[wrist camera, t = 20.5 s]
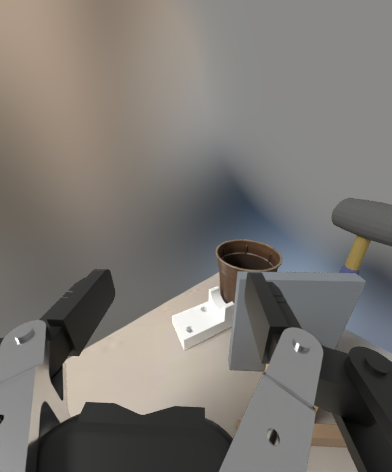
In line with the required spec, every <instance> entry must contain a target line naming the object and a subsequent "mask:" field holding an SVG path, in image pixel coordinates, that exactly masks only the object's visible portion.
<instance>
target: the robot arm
mask: <svg viewBox="0 0 392 472" xmlns="http://www.w3.org/2000/svg"><path fill="white" fill-rule="evenodd" d="M114 297H115V288H114V284H113V280H112V276H111V272H110V270H108V269H106V270H105V269H95V270H93V271H92V272H91V273H90V274H89V275H88V276H87V277H86V278H84V279H82V280H80V281H79V282H77V283H75V284H74V285H73V286H72V287H71V288H70V289H69V291H68V292H66V293H65V294H64V295H63V297H62V298H60V299H59V300H58V301H57V302H56V303H55V304H54V305H53V306H52V307H51V309H49V310H48V311H47V312H46V313H45V314H44V315H43V316H42V318H40V319H39V320H35V321H30V322H28V323H25V324H23V325H21V326H19V327H17V328H15V329H14V330H12V331H11V332H10V333H9V334H8V335H7V336H6V337H4V338H0V472H306V468H307V463H308V457H309V451H310V445H311V439H312V434H313V428H314V422H315V414H316V410H315V408H314V406H317V407H319V408H322V409H324V410H327V411H329V412H331V413H332V414H333V417H334V419H335V421H336V423H337V426H338V428H339V430H340V432H341V434H342V437H343V439H344V441H345V443H346V446H347V448H348V450H349V452H350V455H351V457H352V459H353V461H354V464H355V466H356V468H357V470H358V472H392V362H391V361H390V360H388V359H387V358H386V357H384V356H383V355H381V354H379V353H378V352H376V351H374V350H371V349H369V348H365V347H354V348H352V349H351V350H350V352H349V354H347V353H344V352H340V351H337V350H334V349H331V348H328V347H325V346H322V345H321V344H320V343H319V341H318V340H317V339H316V338H315V337H314V336H313V335H312V334H310V333H309V332H307V331H305V330H303V329H302V327H301V326H300V324H299V322H298V320H297V319H296V317H295V315H294V313H293V311H292V310H291V308H290V306H289V304H287V301H286V299H285V297H284V295H283V294H282V292H281V290H280V288H279V287H277V286H276V285H275V284H274V283H273V282H266V280H265V277H264V275H263V274H262V272H248V273H247V278H246V286H245V294H244V299H245V305H246V309H247V313H248V316H249V320H250V324H251V327H252V331H253V334H254V338H255V342H256V345H257V349H258V353H259V356H260V360H261V364H269V365H268V367H267V369H266V371H265V373H263V374H262V376H261V378H260V380H259V383H258V385H257V387H256V389H255V392H254V394H253V396H252V398H251V401H250V403H249V405H248V407H247V409H246V412H245V414H244V416H243V418H242V421H241V423H240V425H239V427H238V430H237V432H236V434H235V436H234V439H233V438H232V437H231V436H230V435H229V434H228V433H227V432H226V431H225V430H224V429H223V428H221V427H220V426H219V425H218V424H216V423H214V422H213V421H211V420H209V419H206V418H205V408H202V407H181V406H174V407H170V408H167V409H163V410H160V411H156V412H153V413H149V414H146V415H140V414H137V413H135V412H133V411H131V410H128V409H126V408H124V407H122V406H119V405H117V404H115V403H96V402H86V403H85V405H84V407H83V409H82V411H81V414H78V415H76V416H73V417H71V418H70V414H69V411H68V404H67V381H66V364H65V360H66V359H67V357H68V356H79V355H80V354H81V352H82V350H83V349H84V347H85V346H86V344H87V342H88V341H89V339H90V337H91V336H92V334H93V333H94V331H95V329H96V328H97V326H98V325H99V323H100V321H101V320H102V318H103V317H104V315H105V313H106V312H107V310H108V308H109V307H110V305H111V304H112V302H113V300H114Z"/></svg>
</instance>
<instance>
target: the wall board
mask: <svg viewBox="0 0 392 472" xmlns="http://www.w3.org/2000/svg"><path fill="white" fill-rule="evenodd" d="M247 273H248V272H246V271H238V273H237V282H236V292H235V302H234V311H233V321H232V331H231V341H230V350H229V367H230V370H244V371H265V368H266V364H261V360H260V356H259V353H258V349H257V345H256V342H255V338H254V334H253V331H252V327H251V324H250V320H249V316H248V313H247V309H246V305H245V299H244V294H245V286H246V278H247ZM262 274H263V275H264V277H265V280H266V282H273V283H274V284H275V285H276V286H277V287H279V288H280V290H281V292H282V294H283V295H284V297H285V299H286V301H287V304H289V306H290V308H291V310H292V311H293V313H294V315H295V317H296V319H297V320H298V322H299V324H300V326H301V327H302V329H303V330H305V331H307V332H309V333H310V334H312V335H313V336H314V337H315V338H316V339H317V340H318V341H319V343H320V344H321V345H322V346H325V347H328V348H331V349H334V350H335V348H336V346H337V343H338V341H339V339H340V337H341V335H342V333H343V331H344V328H345V326H346V324H347V322H348V320H349V317H350V315H351V313H352V311H353V309H354V307H355V305H356V303H357V300H358V298H359V296H360V294H361V292H362V290H363V288H364V285H365V283H366V281H365V280H364V279H362V278H361V277H360V276H359V275H357V274H356V273H307V272H262ZM241 421H242V420H238V423H237V430H238V427H239V425H240V423H241ZM311 446H329V447H347V446H346V443H345V441H344V439H343V437H342V434H341V432H340V430H339V428H338V426H337V425H335V424H314V428H313V434H312V439H311Z"/></svg>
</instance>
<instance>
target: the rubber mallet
mask: <svg viewBox="0 0 392 472" xmlns="http://www.w3.org/2000/svg"><path fill="white" fill-rule="evenodd" d="M332 222H333V224H334V225H336V226H338V227H340V228H342V229H344V230H346V231H349V232H351V233H353V234H356V235H357V237H356V239H355V241H354V244H353V246H352V249H351V251H350V254H349V256H348V259H347V261H346V264H345V265H344V266H343V267H342V268H341V270H340V272H339V273H356V274H357V275H359V268H360V266H361V263H362V261H363V258H364V256H365V253H366V251H367V248H368V246H369V244H370V241H371V240H372V241H376V242H379V243H382V244H386V245H389V246H392V205H390V204H385V203H381V202H375V201H369V200H361V199H354V198H347V199H344V200H343V201H341V202H340V203H339V204H338V205H337V206H336V207H335V209H334V210H333V213H332Z"/></svg>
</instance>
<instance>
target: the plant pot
mask: <svg viewBox="0 0 392 472" xmlns="http://www.w3.org/2000/svg"><path fill="white" fill-rule="evenodd" d="M216 256H217V258H218V267H219V270H220V271H219V272H220V294H221V297H222V299H223V301H224V302H225V303H226V304H227V303H230V302H233V303H234V302H235V292H236V282H237V273H238V271H246V272H277V269H278V267H279V266H280V265H281V263H282V256H281V254H280V253H279V252H278V251H277V250H276V249H274V248H273V247H271V246H269V245H267V244H264V243H261V242H256V241H252V240H231V241H226V242H224V243H222V244H220V245H219V246H218V247H217V248H216Z"/></svg>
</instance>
